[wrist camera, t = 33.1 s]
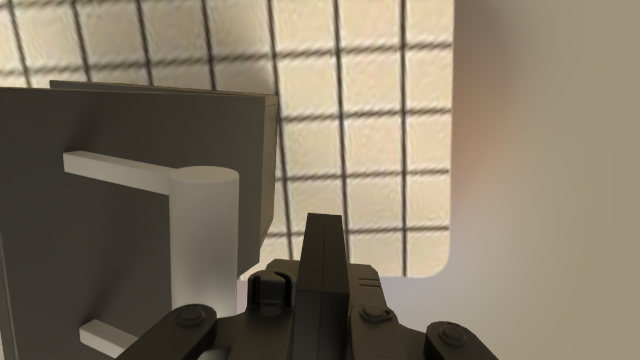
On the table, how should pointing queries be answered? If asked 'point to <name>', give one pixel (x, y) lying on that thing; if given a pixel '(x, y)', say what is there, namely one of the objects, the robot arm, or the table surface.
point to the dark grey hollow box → (270, 100)
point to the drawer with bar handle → (121, 213)
